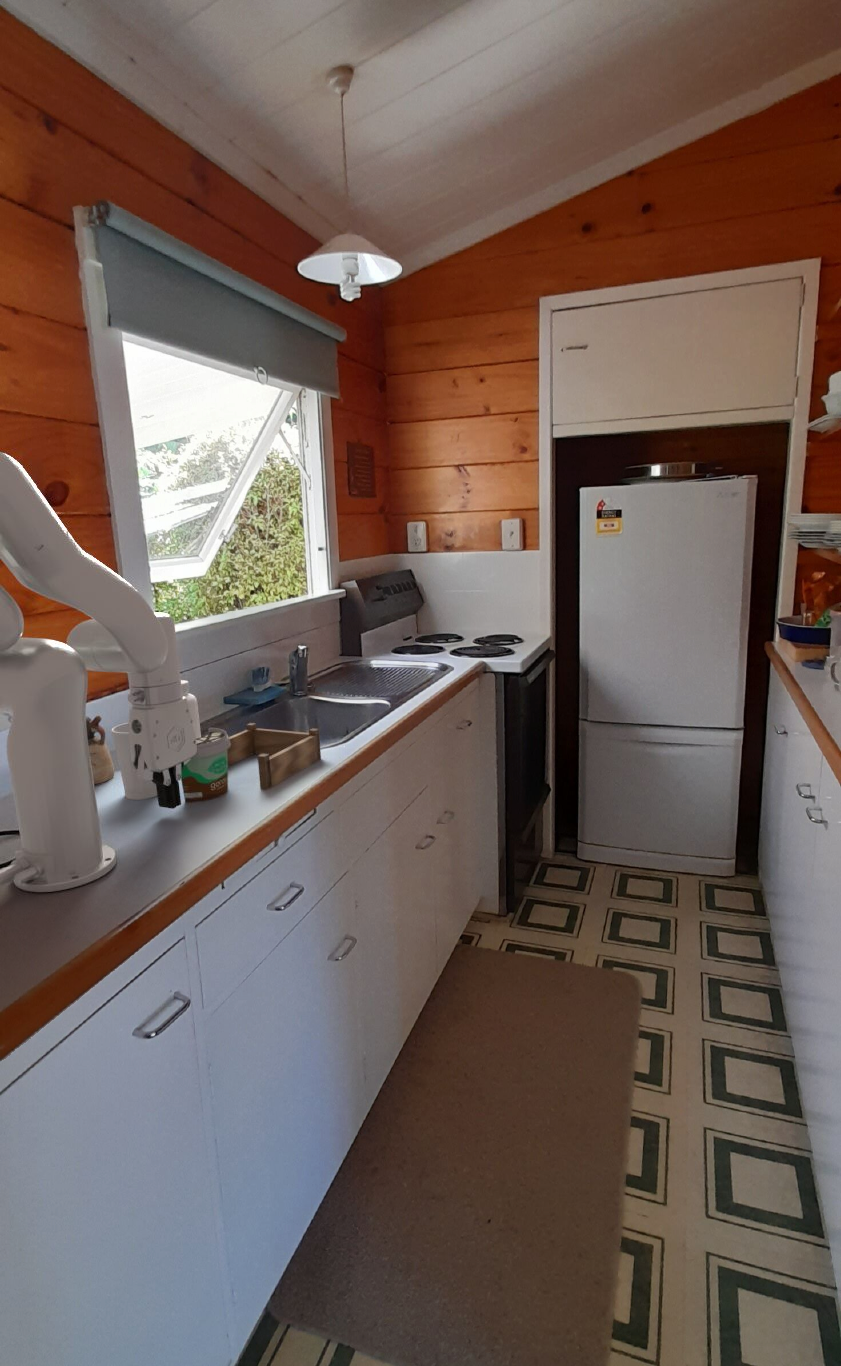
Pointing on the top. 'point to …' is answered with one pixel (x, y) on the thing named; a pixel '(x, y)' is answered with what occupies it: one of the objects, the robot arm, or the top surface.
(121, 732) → the cup
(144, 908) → the top surface
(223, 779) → the food container
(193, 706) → the pill bottle
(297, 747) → the crate
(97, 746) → the figurine
